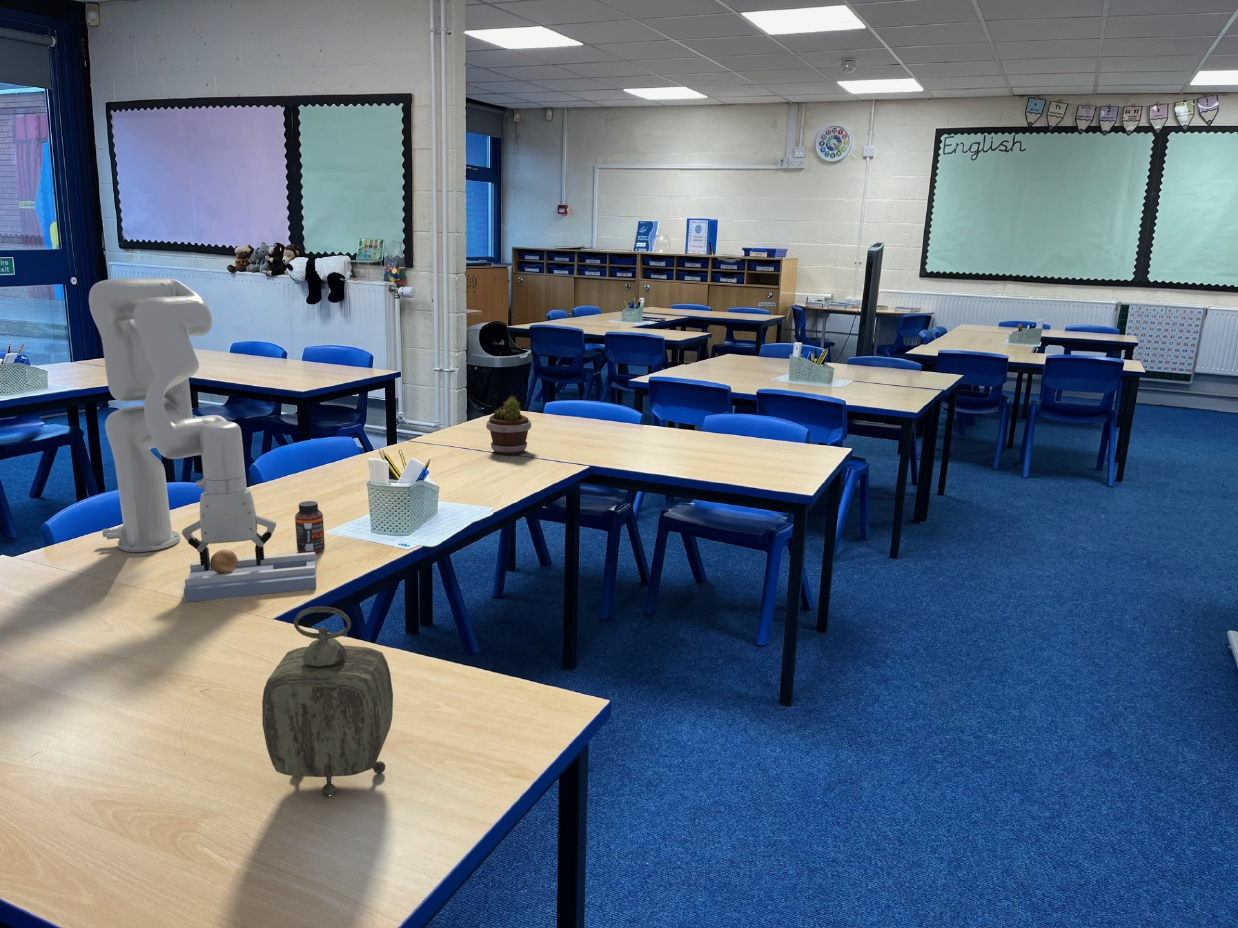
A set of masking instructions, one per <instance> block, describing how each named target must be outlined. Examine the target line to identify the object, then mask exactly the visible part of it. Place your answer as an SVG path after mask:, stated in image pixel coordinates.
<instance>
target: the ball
mask: <svg viewBox="0 0 1238 928" xmlns="http://www.w3.org/2000/svg"><path fill="white" fill-rule="evenodd" d="M238 559H239V558H238V557H237V555H236V553H234V552H233V551H232V550H230V549H220V550H218V551H216V552H215V553H213V555H211V558H210V561H211V562H210V563H211V567H212V569H213V570H214V571H215V572H216V573H218V574H229V573H231V572H232V571H234V570H235V568H236V566H237V563H238Z"/></svg>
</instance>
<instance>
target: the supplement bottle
mask: <svg viewBox="0 0 1238 928" xmlns="http://www.w3.org/2000/svg"><path fill="white" fill-rule="evenodd" d="M294 523H295V539H296V550H297V552H298V554H299V553H310V552H315V555H317V554H318V555H319V554H320V553H322V552H323V551H324V550H325V545H326V543H325V528H324V527H325V526H324V514H323V512H322V511H321V510H320V508H319V503H318V502H317V501H314V500H306V501H301V502H300V503H298V512H296V513H295V516H294Z"/></svg>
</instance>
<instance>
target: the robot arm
mask: <svg viewBox="0 0 1238 928" xmlns="http://www.w3.org/2000/svg"><path fill="white" fill-rule="evenodd" d="M88 305H89V311H90V313H91V316H92V319H93V321H94V323H95V325H96V328H97V330H98V333H99V335H100V338H101V343H102V350H103V357H104V365H105V366H104V367H105V372H106V381H107V386H108V390H109V392H110V394H111V396H112V397H113V398H114V399H115V400H117V401H120V402H139V401H144V402H143V403H144V404H143V405H137V406H136V405H135V406H128V407H124V408H120V409H117V410H114V411H113V412H111V413H110V414H109V415H108V416H107V418H106V420H105V422H104V423H105V424H104V429H105V434H106V437H107V440H108V443H109V446H110V449H111V452H112V456H113V460H114V466H115V474H116V481H117V488H118V495H119V504H120V511H121V517H122V526H118V527H117V528H111V527H109V528H103V529H102V537H103V538H106V539H107V540H114V539H118V541H117V548H118V549H119V550H122V551H124V552H129V553H131V552H132V553H145V552H154V551H158V550H159V551H160V550H163V549H166V548H170V547H172V546H174V545H177V544H178V543H179V542H180V541H181V535H182V536H183V537H184V538H185V540H186V541H187V543H188V545H190V547H193V548H194V549H195V550H197V552H198V554H199V562H200V563H201V566H203V565H204V570H205V571H208V570H209V567H210V561H211V558H210V549H209V547H208V545H209V544H211V545H213V544H224V543H225V544H227V543H236V542H237V543H238V542H247V541H252V542H253V543H254V544H255V546H254V552H255V557H256V565H258V566H260V565H261V560H264V557H265V551H264V546H265V544H266V543H267V542H268V541H269V540H270V539H271V538H272V535H273V534H274V531H275V529H276V527H277V523H276V521H273V520H270V519H268V518H265V517H262V516H259V515H257V513H256V508H255V507H256V506H255V502H254V498H253V495H252V491H251V488H250V487H247V478H246V470H245V469H246V468H245V459H244V456H245V455H244V446H243V436H242V430H241V426H240V425H239V424H238V423H236V422H233V421H228V420H227V419H226V418H224V417H223V416H221V415H217V414H209V415H203V416H202V415H201V416H194V417H193V408H192V407H193V406H192V398H191V389H190V387H191V386H190V381H189V378H191V377H193V376H194V375H195V374H197V373H198V371H199V368H200V363H199V360H198V357H197V355H196V351H195V350H194V348H193V345H192V342H191V339H190V337H201V336H202V337H203V336H206V335H208V334H209V332H210V331H211V330H212V326H213V318H212V314H211V311H210V309H209V307H208V304H207V303H206V302H205V300H204V299H203V298H202V297H201V296H200V295H199V294H198V293H197V292H195V291H194V290H192V289H190V288H189V287H188V286H187V285H185V284H184V283H183V282H181V281H179V280H177V279H174V278H171V277H169V278H168V277H147V278H146V277H138V278H137V277H130V278H127V277H126V278H112V279H111V278H110V279H104V280H100V281H98V282H96V283H94V284H93V285H92V287H91V288H90V290H89V293H88ZM153 448H154V449H155V448H156V450H157V452H158V453H159V454H160V455H161V456H162V457H164V458H166V459H168V460H169V459H170V460H176V459H177V460H178V459H183V458H189V457H194V456H201V464H202V474H203V478H202V479H199V480H195V487H196V488H201V489H203V491H202V492H201V494H200V496H199V497H200V498H199V520H197V521H195V522H194V523H192V524H190V525H188V526H187V527H184V528H183V529H182V531H181V535H180V533H179V532H178V531H175V530H173V529H172V520H171V513H170V505H169V503H170V502H169V495H168V487H167V486H168V485H167V479H166V478H167V477H166V470H165V467H164V464H163V462H162V460H160V459H159V458H158V457H157V456H156V455H155V454H153V452H152V451H151V449H153ZM258 525H260V526H262V527H265V528H266V531H265V532H264V533H263V534H262V535H261V534H260V533H259V532H258ZM198 530H200V538H201V540H199V539H198V538H196V537H195V536H194V534H193V533H195V532H196V531H198Z"/></svg>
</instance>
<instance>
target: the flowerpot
mask: <svg viewBox="0 0 1238 928" xmlns="http://www.w3.org/2000/svg"><path fill="white" fill-rule="evenodd" d="M502 405H503V406H499V407H498V408H499V409H498V408H497V409H496V410H494V411H493V412H494V413H493V414H492V415H490V417H489V420H487V421H486V426H485V427H486V429H487V430H488V431H490V437H491V440H492V442H491V443H490V447H491V450H493V452H494V453H495V454H496V455H502V456H512V455H514V456H515V455H517V456H518V455H521V454H523V453H525V452H526V451H525V450H527V446H528V442H527V438H528V435H529V434H528V433H529V430H531V427H532V422H531V420H530V419H529V418H528V417H527V416H525V415H523V414H522V412H521V406H520V405H521V403H520V402H519V401H518V400H517V397H515V396H514V397H513V396H511V395H510V396H509V397H508V398H507V400H505V401H503V404H502Z"/></svg>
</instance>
